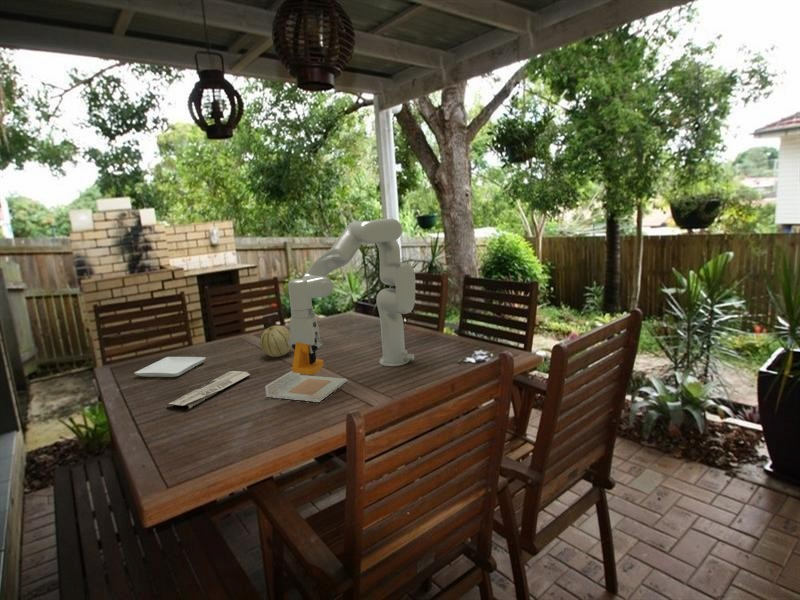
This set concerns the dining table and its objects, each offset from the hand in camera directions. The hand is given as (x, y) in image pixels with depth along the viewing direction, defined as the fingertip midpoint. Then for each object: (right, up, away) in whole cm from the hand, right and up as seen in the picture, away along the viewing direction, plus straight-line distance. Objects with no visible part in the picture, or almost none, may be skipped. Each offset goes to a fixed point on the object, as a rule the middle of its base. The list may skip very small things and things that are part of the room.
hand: (307, 362), depth 166 cm
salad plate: (-67, -9, +37) cm, 77 cm away
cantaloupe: (-23, -4, +48) cm, 53 cm away
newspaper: (-38, -13, +8) cm, 41 cm away
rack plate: (0, -11, +2) cm, 11 cm away
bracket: (+1, -3, +1) cm, 4 cm away
